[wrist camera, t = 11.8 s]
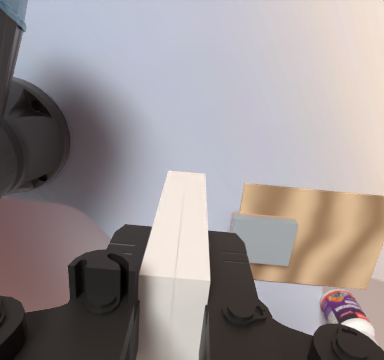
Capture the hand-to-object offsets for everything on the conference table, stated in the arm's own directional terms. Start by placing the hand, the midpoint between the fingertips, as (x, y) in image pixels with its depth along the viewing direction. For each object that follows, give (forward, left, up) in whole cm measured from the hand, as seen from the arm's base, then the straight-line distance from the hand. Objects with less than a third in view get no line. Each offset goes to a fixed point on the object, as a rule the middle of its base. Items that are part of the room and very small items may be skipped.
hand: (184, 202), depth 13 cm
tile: (+7, -18, -28) cm, 34 cm away
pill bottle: (+26, -29, -30) cm, 49 cm away
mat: (+19, -18, -29) cm, 39 cm away
